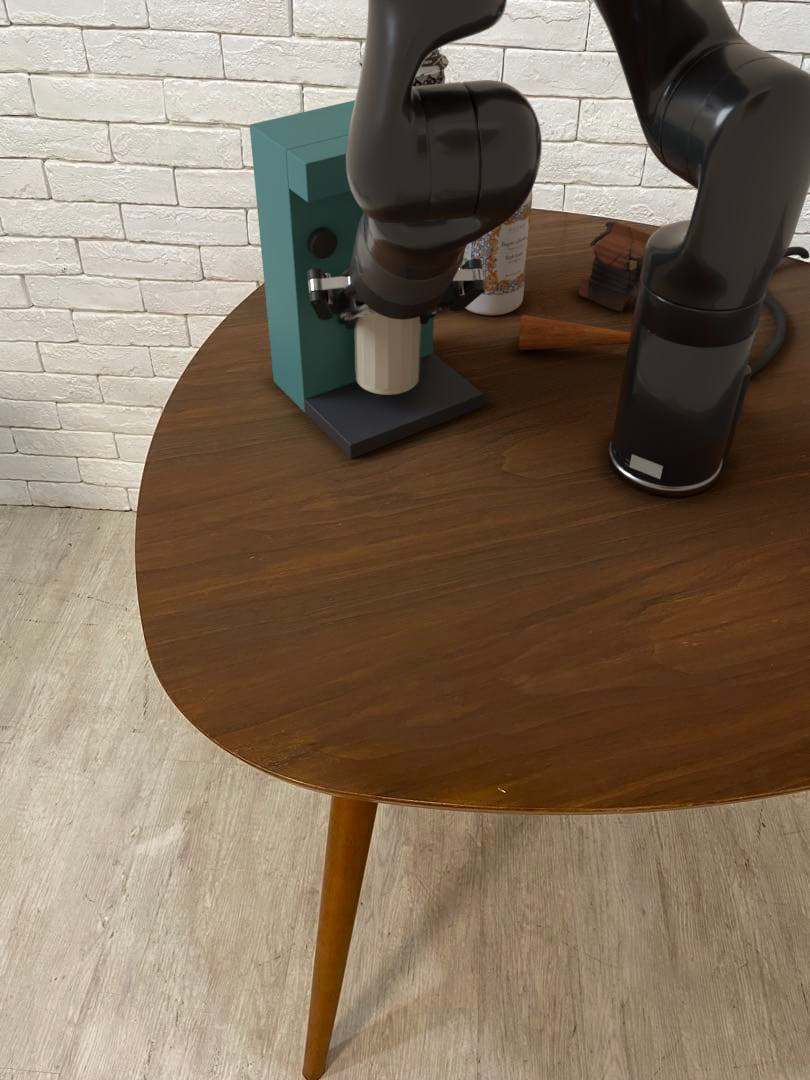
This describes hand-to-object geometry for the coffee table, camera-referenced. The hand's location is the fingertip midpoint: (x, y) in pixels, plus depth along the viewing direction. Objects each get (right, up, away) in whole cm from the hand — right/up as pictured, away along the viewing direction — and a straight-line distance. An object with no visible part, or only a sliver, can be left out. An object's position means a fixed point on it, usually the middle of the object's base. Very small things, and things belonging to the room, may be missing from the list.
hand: (384, 315), depth 90 cm
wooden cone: (+23, -2, +11) cm, 25 cm away
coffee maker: (-1, -5, +7) cm, 9 cm away
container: (0, -5, +2) cm, 6 cm away
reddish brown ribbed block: (+25, +6, +20) cm, 33 cm away
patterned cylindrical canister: (+1, +6, +20) cm, 21 cm away
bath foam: (+11, +5, +19) cm, 23 cm away
